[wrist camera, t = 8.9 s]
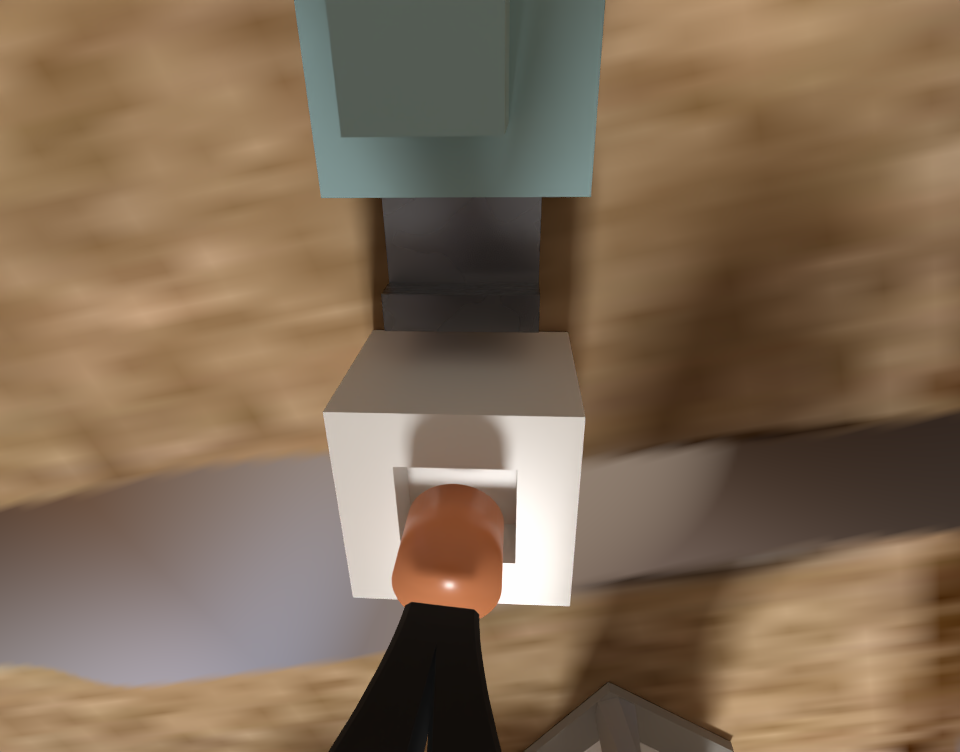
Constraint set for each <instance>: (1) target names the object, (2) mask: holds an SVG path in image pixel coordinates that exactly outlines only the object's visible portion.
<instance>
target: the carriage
mask: <svg viewBox="0 0 960 752" xmlns="http://www.w3.org/2000/svg"><path fill="white" fill-rule="evenodd" d="M294 3H295V10H296V18H297V25H298V32H299V40H300V47H301V54H302V61H303V69H304V76H305V83H306V91H307V98H308V105H309V112H310V120H311V127H312V134H313V141H314V149H315V156H316V163H317V171H318V178H319V185H320V192H321V198H422V197H591V187H592V173H593V160H594V146H595V132H596V118H597V105H598V91H599V77H600V64H601V50H602V36H603V23H604V9H605V0H294Z"/></svg>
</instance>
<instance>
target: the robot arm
mask: <svg viewBox="0 0 960 752" xmlns="http://www.w3.org/2000/svg"><path fill="white" fill-rule="evenodd" d="M427 736H428V746H427V752H501V748H500V744H499V740H498V736H497V732H496V727H495V723H494V718H493V714H492V709H491V705H490V700H489V695H488V690H487V685H486V679H485V673H484V667H483V660H482V652H481V643H480V629H479V614H478V613H477V612H476V611H475V610H474V609H467V608H459V607H451V606H442V605H434V604H426V603H417V602H410V603H409V604H407V605H405V608H404V611H403V614H402V617H401V619H400V622H399V624H398V627H397V629H396V631H395V634H394V636H393V638H392V640H391V642H390V645H389V647H388V649H387V651H386V653H385V655H384V657H383V659H382V661H381V663H380V665H379V667H378V669H377V671H376V672H375V674H374V676H373V678H372V680H371V681H370V683H369V685H368V687H367V689H366V690H365V692H364V694H363V696H362V698H361V699H360V701H359V703H358V705H357V707H356V708H355V710H354V712H353V713H352V715H351V717H350V718H349V720H348V721H347V723H346V725H345V726H344V728H343V729H342V731H341V733H340V734H339V736H338V737H337V739H336V741H335V742H334V744H333V745H332V747H331V749H330V750H329V752H424V750H425V745H426V741H427Z"/></svg>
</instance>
